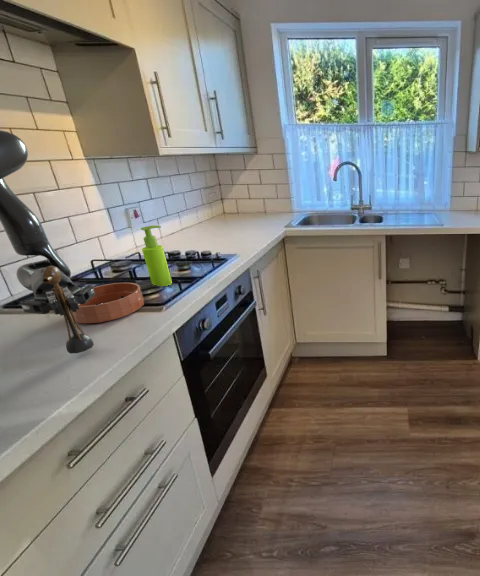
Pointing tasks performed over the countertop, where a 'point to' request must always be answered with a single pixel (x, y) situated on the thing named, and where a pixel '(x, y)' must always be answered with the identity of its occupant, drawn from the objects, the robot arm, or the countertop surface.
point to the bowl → (110, 303)
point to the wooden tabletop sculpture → (67, 313)
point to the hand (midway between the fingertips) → (67, 309)
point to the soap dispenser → (155, 259)
